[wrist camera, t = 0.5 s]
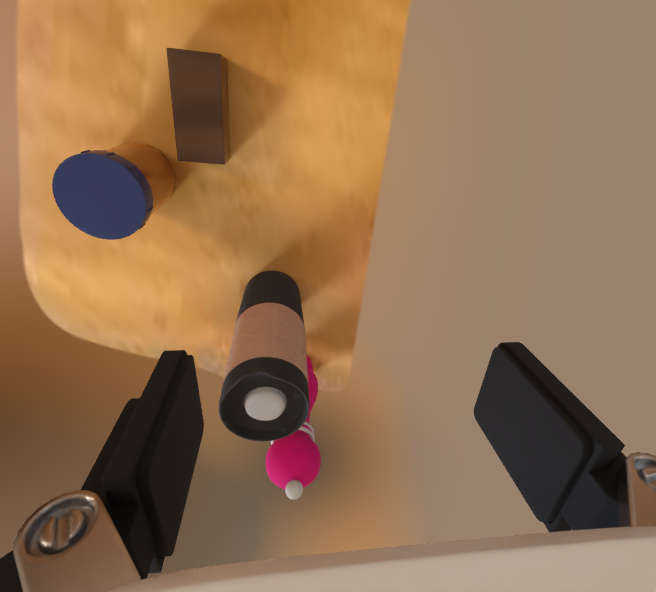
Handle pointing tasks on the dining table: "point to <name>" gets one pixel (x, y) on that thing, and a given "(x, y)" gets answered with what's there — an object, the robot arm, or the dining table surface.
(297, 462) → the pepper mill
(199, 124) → the stand
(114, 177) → the jar lid
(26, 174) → the dining table surface
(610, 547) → the robot arm
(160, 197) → the jam jar
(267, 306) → the travel mug
